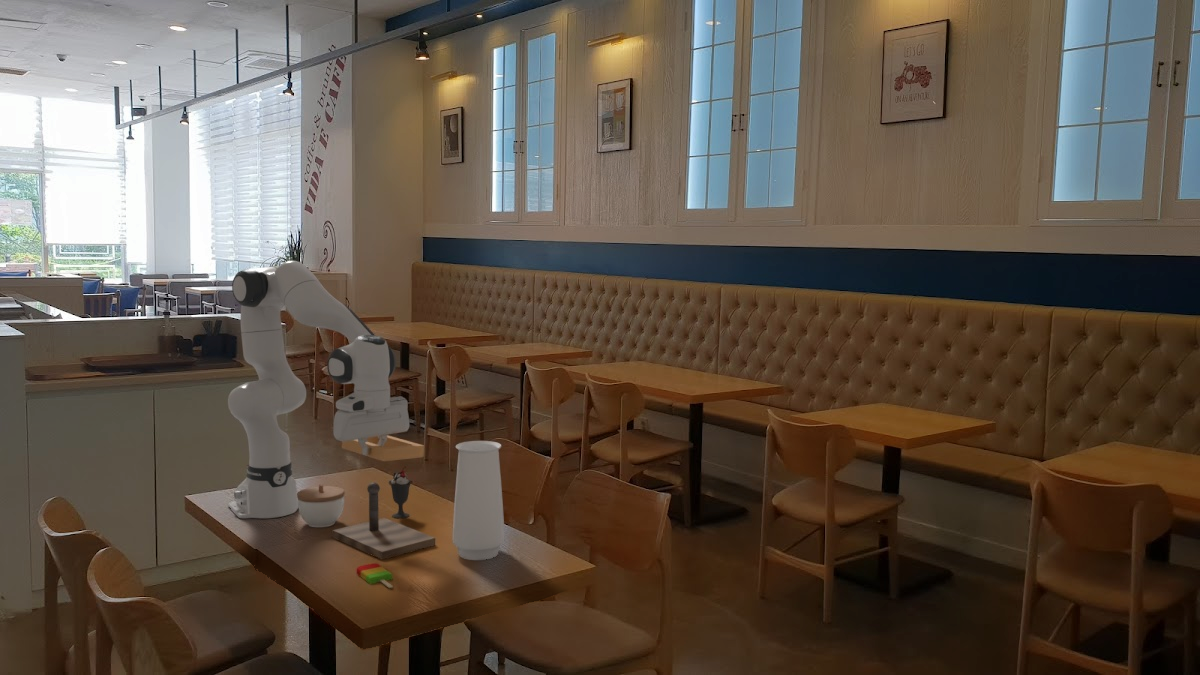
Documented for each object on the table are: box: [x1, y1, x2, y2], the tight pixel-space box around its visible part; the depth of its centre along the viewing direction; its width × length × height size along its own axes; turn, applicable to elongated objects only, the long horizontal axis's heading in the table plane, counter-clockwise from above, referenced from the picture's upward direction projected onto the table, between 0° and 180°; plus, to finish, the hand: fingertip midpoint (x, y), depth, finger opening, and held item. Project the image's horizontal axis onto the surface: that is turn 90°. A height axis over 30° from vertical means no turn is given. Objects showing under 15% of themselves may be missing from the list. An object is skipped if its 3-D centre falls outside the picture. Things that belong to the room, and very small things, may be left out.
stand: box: [331, 482, 436, 560], centre depth 242 cm, size 24×16×15 cm, turn 46°
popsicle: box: [356, 563, 394, 589], centre depth 216 cm, size 6×15×2 cm, turn 36°
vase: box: [452, 440, 505, 561], centre depth 233 cm, size 13×13×28 cm
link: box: [341, 434, 425, 462], centre depth 240 cm, size 20×12×3 cm, turn 45°
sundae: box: [388, 465, 413, 519], centre depth 265 cm, size 7×7×15 cm
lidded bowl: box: [297, 484, 346, 528], centre depth 257 cm, size 13×13×11 cm
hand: (372, 453), depth 234 cm, fingers closed on link, 2 cm apart
